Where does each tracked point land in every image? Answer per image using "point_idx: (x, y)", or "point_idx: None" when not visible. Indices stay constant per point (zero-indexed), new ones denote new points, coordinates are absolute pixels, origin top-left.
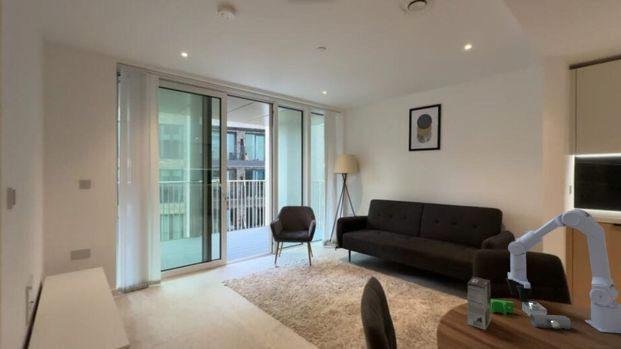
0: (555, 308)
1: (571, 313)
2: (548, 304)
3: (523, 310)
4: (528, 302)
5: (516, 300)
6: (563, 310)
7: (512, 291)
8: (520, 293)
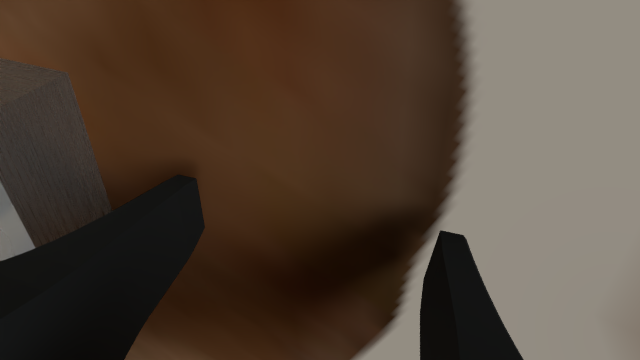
0: (207, 342)
1: (151, 355)
2: (275, 356)
3: (34, 68)
4: (1, 192)
5: (351, 191)
6: (186, 354)
7: (439, 280)
8: (31, 250)
